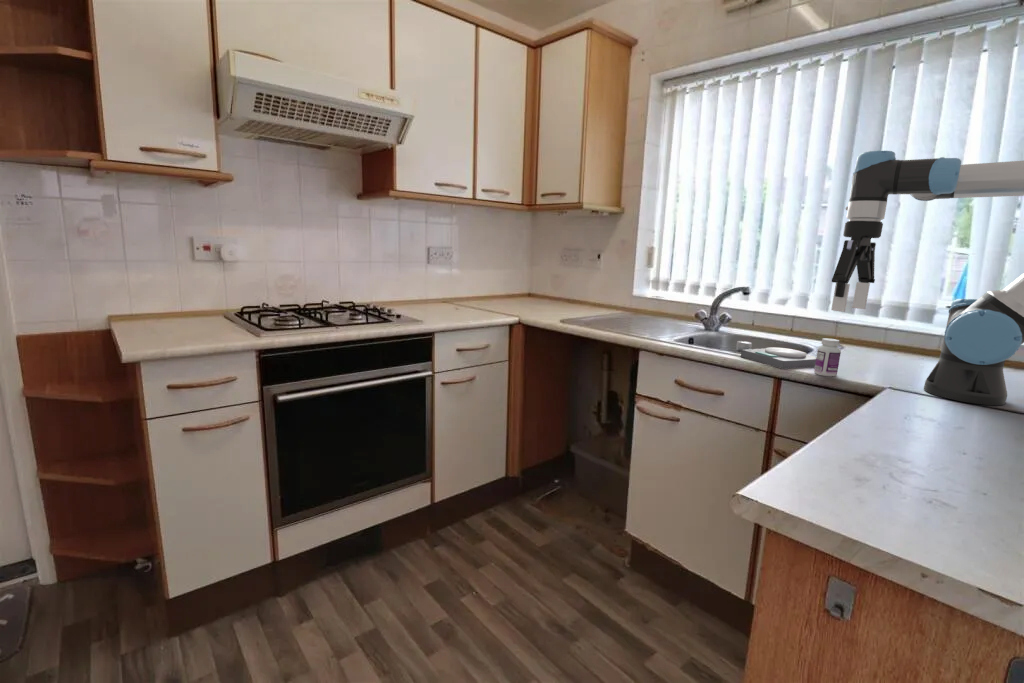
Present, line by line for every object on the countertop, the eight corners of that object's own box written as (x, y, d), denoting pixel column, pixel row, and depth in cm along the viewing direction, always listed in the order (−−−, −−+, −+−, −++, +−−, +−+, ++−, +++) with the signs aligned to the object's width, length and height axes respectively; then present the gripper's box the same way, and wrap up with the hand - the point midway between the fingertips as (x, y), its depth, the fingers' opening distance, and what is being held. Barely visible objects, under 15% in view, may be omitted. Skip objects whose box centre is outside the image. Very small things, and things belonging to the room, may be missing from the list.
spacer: (743, 349, 171) (744, 340, 170) (753, 352, 167) (755, 343, 166) (732, 350, 169) (734, 341, 168) (743, 353, 165) (744, 344, 164)
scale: (778, 354, 165) (779, 345, 164) (822, 366, 151) (823, 356, 151) (740, 356, 159) (741, 347, 158) (782, 368, 145) (784, 358, 145)
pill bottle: (836, 374, 142) (843, 339, 140) (836, 378, 138) (843, 342, 136) (814, 370, 145) (819, 336, 143) (813, 374, 140) (819, 339, 138)
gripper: (864, 223, 134) (850, 305, 138) (826, 217, 118) (811, 309, 122) (899, 223, 128) (883, 309, 132) (864, 217, 113) (847, 314, 117)
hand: (848, 309), depth 127 cm, fingers open, 13 cm apart
